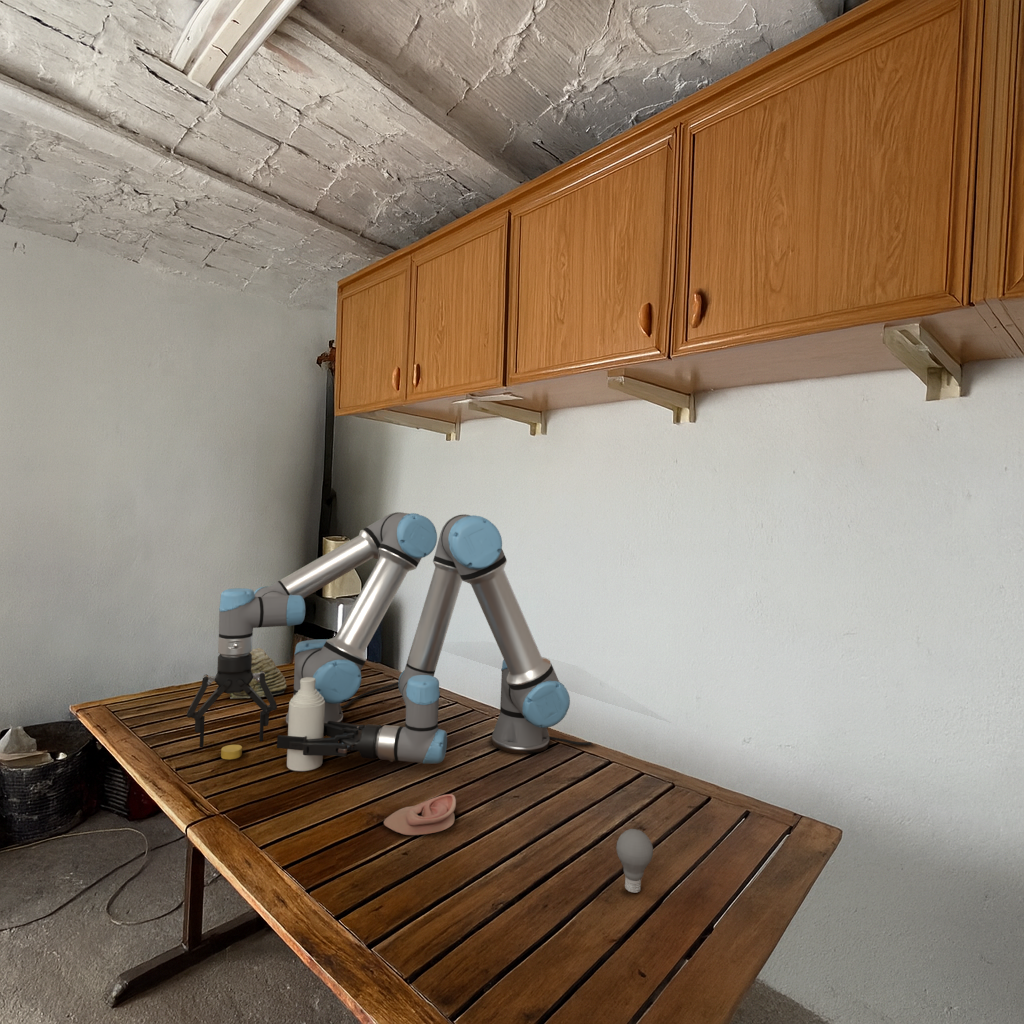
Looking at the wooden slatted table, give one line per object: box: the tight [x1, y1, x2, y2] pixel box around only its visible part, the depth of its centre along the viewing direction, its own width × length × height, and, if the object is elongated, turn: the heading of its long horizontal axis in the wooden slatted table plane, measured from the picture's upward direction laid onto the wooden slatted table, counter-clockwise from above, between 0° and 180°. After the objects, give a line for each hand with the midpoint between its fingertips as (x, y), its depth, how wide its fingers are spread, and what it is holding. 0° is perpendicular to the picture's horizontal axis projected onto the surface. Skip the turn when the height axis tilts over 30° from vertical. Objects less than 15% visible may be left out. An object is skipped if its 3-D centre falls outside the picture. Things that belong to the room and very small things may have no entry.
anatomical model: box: [383, 793, 457, 836], centre depth 125 cm, size 13×4×12 cm
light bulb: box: [615, 828, 654, 894], centre depth 106 cm, size 6×6×10 cm
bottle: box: [286, 677, 325, 772], centre depth 149 cm, size 8×8×20 cm
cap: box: [220, 744, 243, 760], centre depth 152 cm, size 5×5×2 cm
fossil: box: [229, 647, 288, 699], centre depth 198 cm, size 9×18×15 cm, turn 132°
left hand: (231, 742), depth 152 cm, fingers open, 12 cm apart
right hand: (286, 734), depth 150 cm, fingers closed on bottle, 8 cm apart
